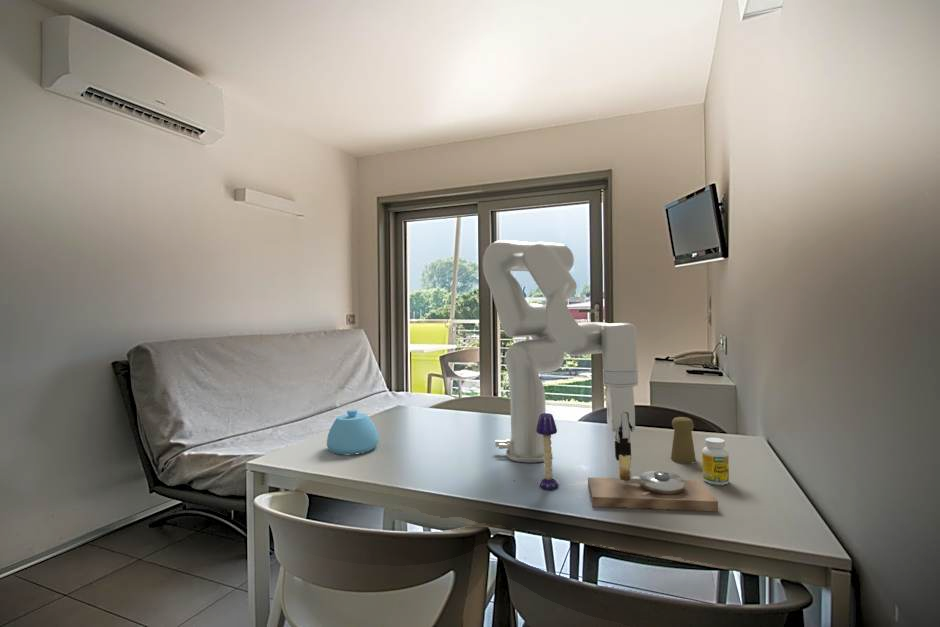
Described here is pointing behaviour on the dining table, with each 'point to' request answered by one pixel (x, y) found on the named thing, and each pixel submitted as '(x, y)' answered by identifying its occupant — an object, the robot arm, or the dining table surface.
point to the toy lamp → (547, 449)
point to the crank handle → (651, 478)
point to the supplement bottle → (715, 462)
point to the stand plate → (649, 496)
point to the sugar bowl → (352, 434)
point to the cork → (683, 440)
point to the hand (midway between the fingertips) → (623, 459)
